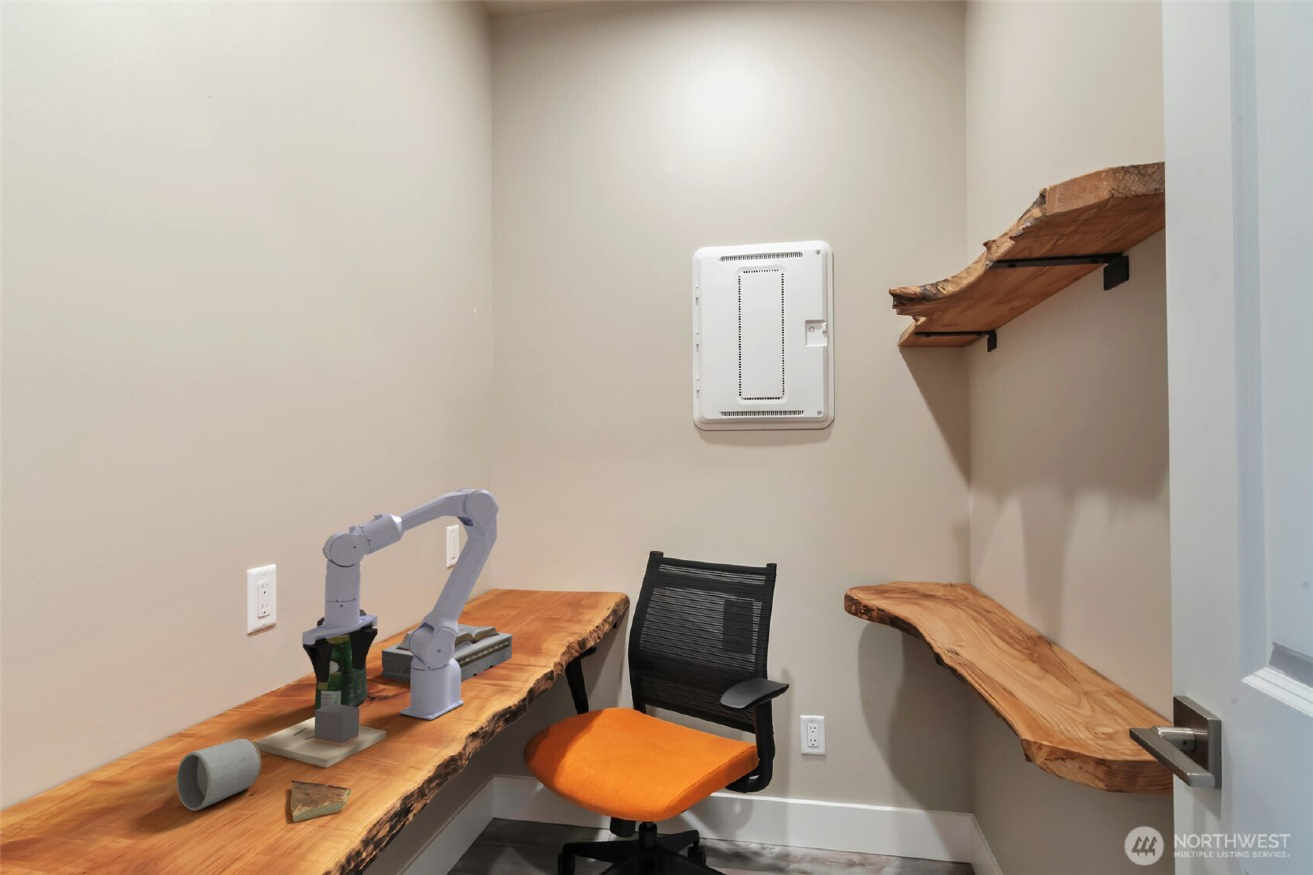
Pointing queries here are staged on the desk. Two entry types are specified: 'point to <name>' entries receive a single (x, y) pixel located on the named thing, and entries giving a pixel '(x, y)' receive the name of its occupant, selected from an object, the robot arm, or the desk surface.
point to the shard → (316, 799)
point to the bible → (471, 653)
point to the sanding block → (336, 724)
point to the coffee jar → (342, 676)
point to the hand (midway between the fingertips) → (340, 675)
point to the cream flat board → (315, 744)
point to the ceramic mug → (217, 772)
